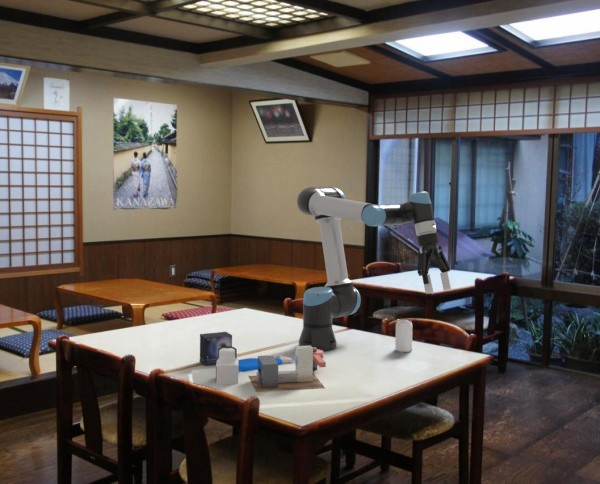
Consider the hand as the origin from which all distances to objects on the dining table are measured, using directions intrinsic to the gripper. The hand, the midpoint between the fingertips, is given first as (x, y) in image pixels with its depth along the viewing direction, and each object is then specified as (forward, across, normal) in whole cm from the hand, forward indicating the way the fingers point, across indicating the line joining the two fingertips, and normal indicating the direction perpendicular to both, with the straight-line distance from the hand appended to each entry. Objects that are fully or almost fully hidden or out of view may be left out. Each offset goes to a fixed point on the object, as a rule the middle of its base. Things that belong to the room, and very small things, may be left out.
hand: (438, 291), depth 248 cm
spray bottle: (+15, -42, +52) cm, 69 cm away
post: (+20, -37, +34) cm, 54 cm away
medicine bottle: (+17, -66, +47) cm, 83 cm away
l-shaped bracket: (+19, -55, +32) cm, 67 cm away
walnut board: (+21, -55, +32) cm, 67 cm away
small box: (+11, -50, +68) cm, 85 cm away
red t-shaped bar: (+16, -41, +29) cm, 52 cm away
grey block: (+19, -59, +35) cm, 72 cm away
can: (+20, +10, +26) cm, 35 cm away
